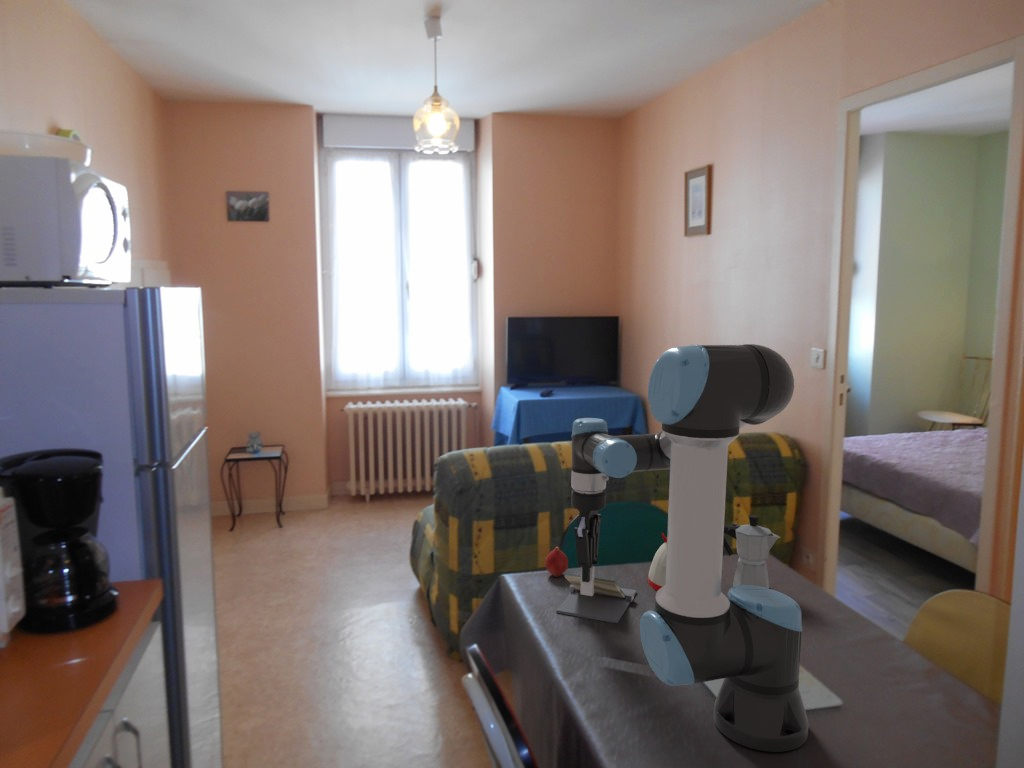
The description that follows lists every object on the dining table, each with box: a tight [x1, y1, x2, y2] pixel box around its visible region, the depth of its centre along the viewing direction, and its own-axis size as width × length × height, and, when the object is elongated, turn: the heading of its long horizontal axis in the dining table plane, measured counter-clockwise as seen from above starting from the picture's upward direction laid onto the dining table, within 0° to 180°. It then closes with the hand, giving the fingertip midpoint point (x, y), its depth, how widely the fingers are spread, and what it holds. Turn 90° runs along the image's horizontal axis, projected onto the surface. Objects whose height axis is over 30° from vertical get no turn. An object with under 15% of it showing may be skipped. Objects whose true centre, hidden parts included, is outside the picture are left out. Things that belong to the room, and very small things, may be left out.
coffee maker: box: [723, 514, 781, 589], centre depth 175 cm, size 15×9×18 cm, turn 58°
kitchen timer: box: [647, 532, 667, 592], centre depth 176 cm, size 14×14×15 cm
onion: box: [544, 546, 569, 578], centre depth 181 cm, size 6×6×8 cm
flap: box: [564, 572, 626, 599], centre depth 164 cm, size 13×12×1 cm
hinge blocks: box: [568, 583, 635, 603], centre depth 169 cm, size 2×15×1 cm, turn 67°
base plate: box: [555, 587, 637, 624], centre depth 166 cm, size 18×14×1 cm
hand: (587, 594), depth 158 cm, fingers closed
